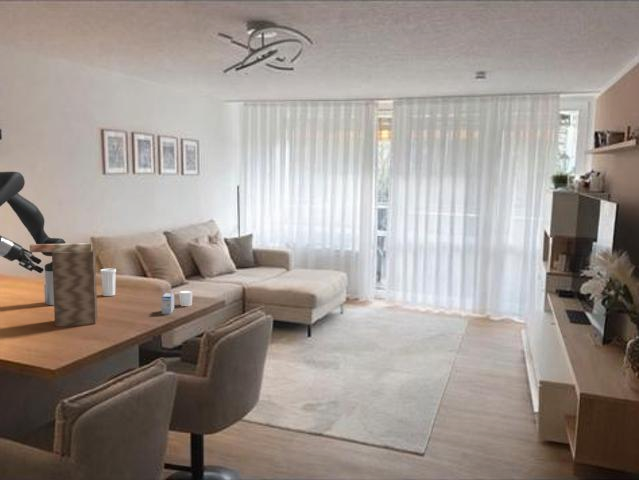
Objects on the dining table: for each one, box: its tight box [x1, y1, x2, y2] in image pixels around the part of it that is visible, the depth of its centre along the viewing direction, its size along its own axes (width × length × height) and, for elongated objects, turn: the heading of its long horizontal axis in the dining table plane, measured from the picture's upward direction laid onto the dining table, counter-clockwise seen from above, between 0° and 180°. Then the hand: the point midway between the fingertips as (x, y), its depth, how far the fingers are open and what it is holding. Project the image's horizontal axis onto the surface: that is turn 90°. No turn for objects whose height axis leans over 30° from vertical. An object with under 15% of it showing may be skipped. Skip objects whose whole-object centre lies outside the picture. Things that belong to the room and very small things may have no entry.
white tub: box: [178, 290, 193, 307], centre depth 266 cm, size 7×7×7 cm
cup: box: [99, 267, 117, 297], centre depth 284 cm, size 8×8×14 cm
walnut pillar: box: [51, 248, 98, 327], centre depth 230 cm, size 16×11×32 cm
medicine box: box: [161, 292, 175, 315], centre depth 251 cm, size 8×4×9 cm, turn 5°
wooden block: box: [29, 242, 93, 253], centre depth 227 cm, size 24×4×3 cm, turn 109°
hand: (41, 266), depth 230 cm, fingers open, 8 cm apart
